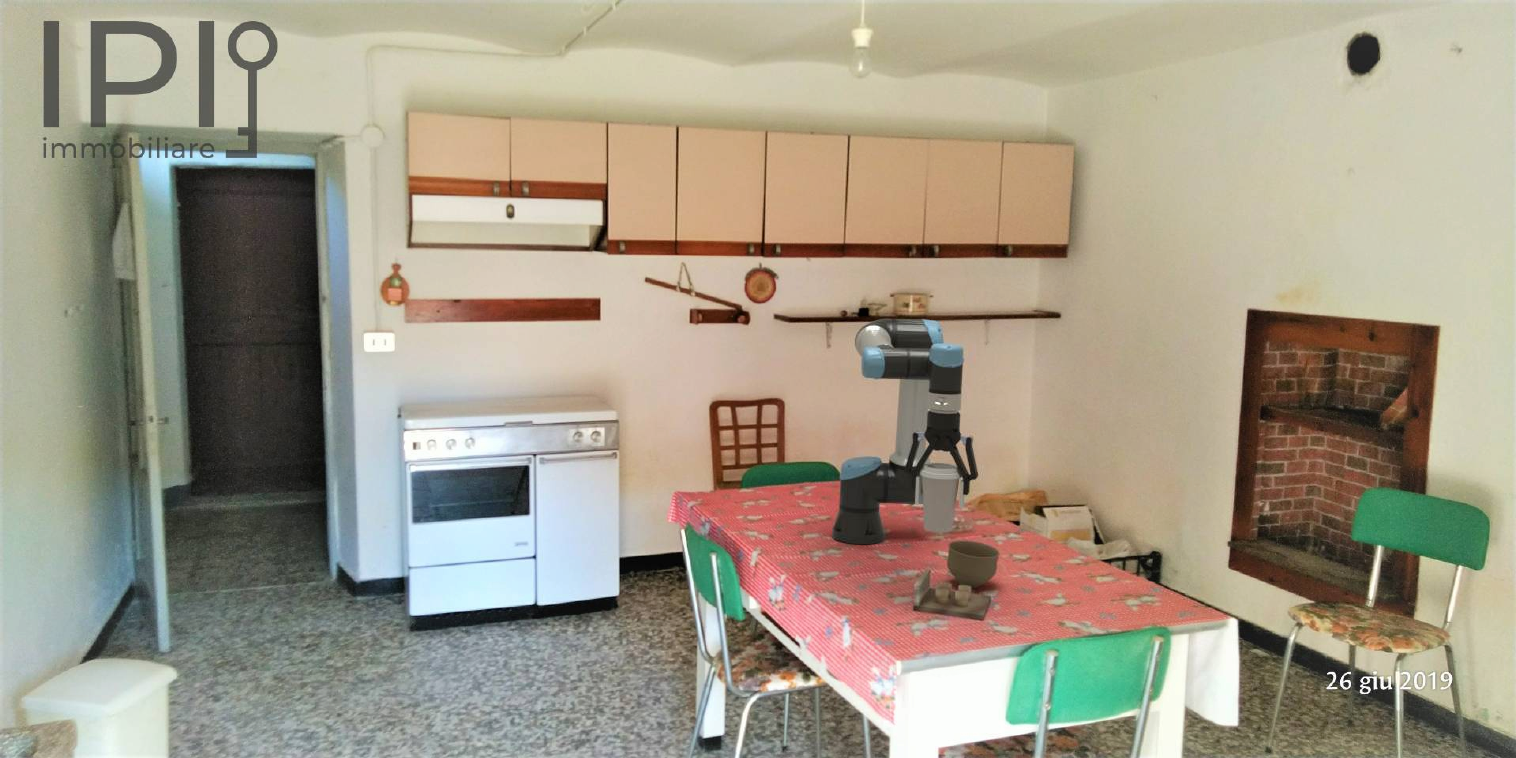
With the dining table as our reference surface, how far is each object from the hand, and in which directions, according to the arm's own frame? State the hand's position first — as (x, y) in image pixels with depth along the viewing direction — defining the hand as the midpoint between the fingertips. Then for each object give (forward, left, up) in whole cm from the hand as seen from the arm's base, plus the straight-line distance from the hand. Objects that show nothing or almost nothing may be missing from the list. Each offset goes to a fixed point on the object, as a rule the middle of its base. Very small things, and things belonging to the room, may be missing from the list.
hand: (939, 505), depth 237 cm
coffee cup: (0, 0, -6) cm, 6 cm away
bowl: (+6, +18, -24) cm, 31 cm away
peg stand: (+4, +1, -24) cm, 24 cm away
